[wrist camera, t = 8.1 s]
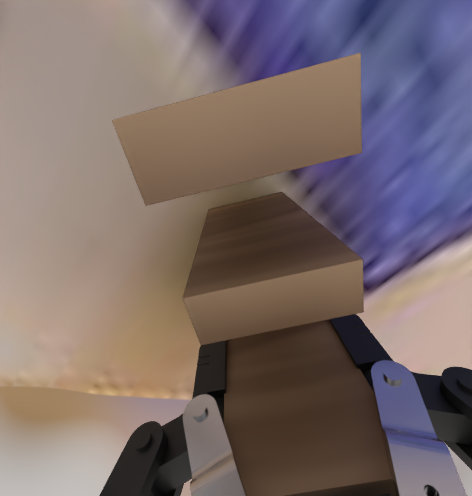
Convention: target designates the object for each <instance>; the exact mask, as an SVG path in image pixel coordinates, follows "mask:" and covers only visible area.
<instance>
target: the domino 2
mask: <svg viewBox="0 0 472 496" xmlns="http://www.w3.org/2000/svg"><path fill="white" fill-rule="evenodd" d="M182 299H183V301H184V304H185V306H186V309H187V311H188V314H189V316H190V319H191V321H192V324H193V326H194V329H195V331H196V334H197V337H198V339H199V342H200V344H201V345H205V344H210V343H215V342H220V341H225V340H229V339H234V338H239V337H244V336H249V335H254V334H259V333H264V332H269V331H274V330H279V329H284V328H288V327H293V326H298V325H303V324H308V323H313V322H318V321H323V320H328V319H333V318H338V317H342V316H347V315H352V314H357V313H362V312H364V309H363V259H362V258H361V257H359V256H358V255H357V254H356V253H355V252H353V251H352V250H351V249H350V248H349V247H347V246H346V245H345V244H344V243H343V242H341V241H340V240H339V239H338V238H337V237H335V236H334V235H333V234H332V233H331V232H329V231H328V230H327V229H326V228H325V227H323V226H322V225H321V224H320V223H319V222H317V221H316V220H315V219H314V218H313V217H311V216H310V215H309V214H308V213H307V212H305V211H304V210H303V209H302V208H301V207H299V206H298V205H297V204H296V203H295V202H293V201H292V200H291V199H290V198H289V197H288V196H286V195H285V194H284V193H283V192H280V193H276V194H271V195H267V196H263V197H259V198H255V199H251V200H246V201H242V202H238V203H234V204H230V205H226V206H221V207H217V208H213V209H209V210H208V214H207V217H206V221H205V224H204V227H203V231H202V234H201V237H200V241H199V244H198V248H197V251H196V254H195V258H194V261H193V265H192V268H191V271H190V275H189V278H188V282H187V285H186V288H185V292H184V295H183V298H182Z"/></svg>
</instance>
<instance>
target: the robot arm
mask: <svg viewBox="0 0 472 496" xmlns="http://www.w3.org/2000/svg"><path fill="white" fill-rule="evenodd" d="M328 320H329V321H330V323H331V325H332V327H333V328H334V330H335V332H336V333H337V335H338V337H339V339H340V340H341V342H342V344H343V345H344V347H345V349H346V350H347V352H348V354H349V356H350V357H351V359H352V361H353V362H354V364H355V366H356V368H357V369H360V370H361V372H362V373H363V375H364V377H365V378H366V380H367V382H368V383H369V385H370V387H371V388H372V390H373V392H374V397H375V402H376V407H377V412H378V417H379V422H380V427H381V432H382V437H383V442H384V447H385V452H386V457H387V461H388V466H389V471H390V476H391V478H392V480H393V483H394V487H395V492H396V496H467V495H466V492H465V490H464V487H463V485H462V482H461V480H460V477H459V475H458V472H457V469H456V467H455V465H454V462H453V459H452V457H451V454H450V452H449V450H448V448H447V446H446V444H447V445H448V446H449V447H450V448H451V450H452V451H454V452H455V453H456V455H458V457H459V458H460V459H461V460H462V461H463V462H465V464H466V465H467V466H468V467H469V468H470V469H471V470H472V370H470V369H467V368H463V367H449V368H447V369H445V370H444V371H443V373H442V376H436V375H426V374H418V373H414V372H411V371H409V370H408V369H407V368H406V367H404V366H403V365H401V364H399V363H397V362H394V361H393V360H392V359H391V357H390V356H389V355H388V354H387V352H386V351H385V350H384V348H383V347H382V346H381V345H380V343H379V342H378V341H377V339H376V338H375V337H374V336H373V334H372V333H371V332H370V330H369V329H368V328H367V326H365V324H364V323H363V321H362V320H361V319H360V317H359V316H357V315H356V314H352V315H347V316H342V317H338V318H333V319H328ZM198 358H199V359H198V363H197V370H196V377H195V385H194V392H193V398H192V400H191V401H190V402H189V403H188V404H187V406H186V408H185V410H184V413H183V414H182V415H180V416H179V417H178V418H176V419H174V420H172V421H171V422H169V423H167V424H165V425H163V426H161V425H160V424H159V423H157V422H155V421H151V422H147V423H144V424H143V425H141V426H140V427H138V428H137V429H136V430H135V431H134V433H133V434H132V435H131V437H130V438H129V440H128V442H127V444H126V446H125V448H124V450H123V452H122V453H121V455H120V457H119V459H118V461H117V463H116V465H115V467H114V469H113V471H112V473H111V475H110V476H109V478H108V480H107V482H106V484H105V486H104V488H103V490H102V492H101V494H100V496H180V495H181V492H182V488H183V485H184V483H185V482H187V481H189V480H190V479H192V481H191V483H190V490H191V496H247V493H246V490H245V487H244V484H243V481H242V478H241V475H240V472H239V469H238V466H237V463H236V460H235V457H234V454H233V451H232V447H231V444H230V441H229V438H228V435H227V432H226V429H225V426H224V394H226V385H227V340H225V341H220V342H215V343H210V344H205V345H201V347H200V349H199V356H198ZM442 440H443V441H444V442H445V443H446V444H445V443H444V442H443V441H442ZM376 496H390V494H383V495H376Z"/></svg>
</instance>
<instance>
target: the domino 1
mask: <svg viewBox="0 0 472 496" xmlns="http://www.w3.org/2000/svg"><path fill="white" fill-rule="evenodd" d="M112 122H113V124H114V127H115V129H116V132H117V134H118V137H119V139H120V142H121V145H122V147H123V150H124V152H125V155H126V157H127V160H128V162H129V165H130V167H131V170H132V172H133V175H134V177H135V180H136V182H137V185H138V187H139V190H140V192H141V195H142V198H143V200H144V203H145V205H146V206H147V205H151V204H155V203H159V202H163V201H167V200H171V199H175V198H180V197H184V196H188V195H192V194H196V193H200V192H204V191H208V190H212V189H216V188H220V187H224V186H229V185H233V184H237V183H241V182H245V181H249V180H253V179H257V178H261V177H265V176H269V175H273V174H278V173H282V172H286V171H290V170H294V169H298V168H302V167H306V166H310V165H314V164H318V163H322V162H327V161H331V160H335V159H339V158H343V157H347V156H351V155H355V154H359V153H362V130H361V53H358V54H354V55H351V56H347V57H343V58H340V59H336V60H332V61H329V62H325V63H321V64H317V65H314V66H310V67H306V68H303V69H299V70H295V71H292V72H288V73H284V74H281V75H277V76H273V77H269V78H266V79H262V80H258V81H255V82H251V83H247V84H244V85H240V86H236V87H233V88H229V89H225V90H221V91H218V92H214V93H210V94H207V95H203V96H199V97H196V98H192V99H188V100H185V101H181V102H177V103H173V104H170V105H166V106H162V107H159V108H155V109H151V110H148V111H144V112H140V113H137V114H133V115H129V116H126V117H122V118H118V119H114V120H112Z"/></svg>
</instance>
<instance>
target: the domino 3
mask: <svg viewBox="0 0 472 496" xmlns="http://www.w3.org/2000/svg"><path fill="white" fill-rule="evenodd" d="M224 426H225V429H226V432H227V435H228V438H229V441H230V444H231V447H232V451H233V454H234V457H235V460H236V463H237V466H238V469H239V472H240V475H241V478H242V481H243V484H244V487H245V490H246V493H247V496H376V495H383V494H390V496H396V492H395V487H394V483H393V480H392V478H391V476H390V471H389V466H388V461H387V457H386V452H385V447H384V442H383V437H382V432H381V427H380V422H379V417H378V412H377V407H376V402H375V397H374V392H373V390H372V388H371V387H370V385H369V383H368V382H367V380H366V378H365V377H364V375H363V373H362V372H361V370H360V369H357V368H356V366H355V364H354V362H353V361H352V359H351V357H350V356H349V354H348V352H347V350H346V349H345V347H344V345H343V344H342V342H341V340H340V339H339V337H338V335H337V333H336V332H335V330H334V328H333V327H332V325H331V323H330V321H329V320H323V321H318V322H313V323H308V324H303V325H298V326H293V327H288V328H284V329H279V330H274V331H269V332H264V333H259V334H254V335H249V336H244V337H239V338H234V339H229V340H227V385H226V394H224Z"/></svg>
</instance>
